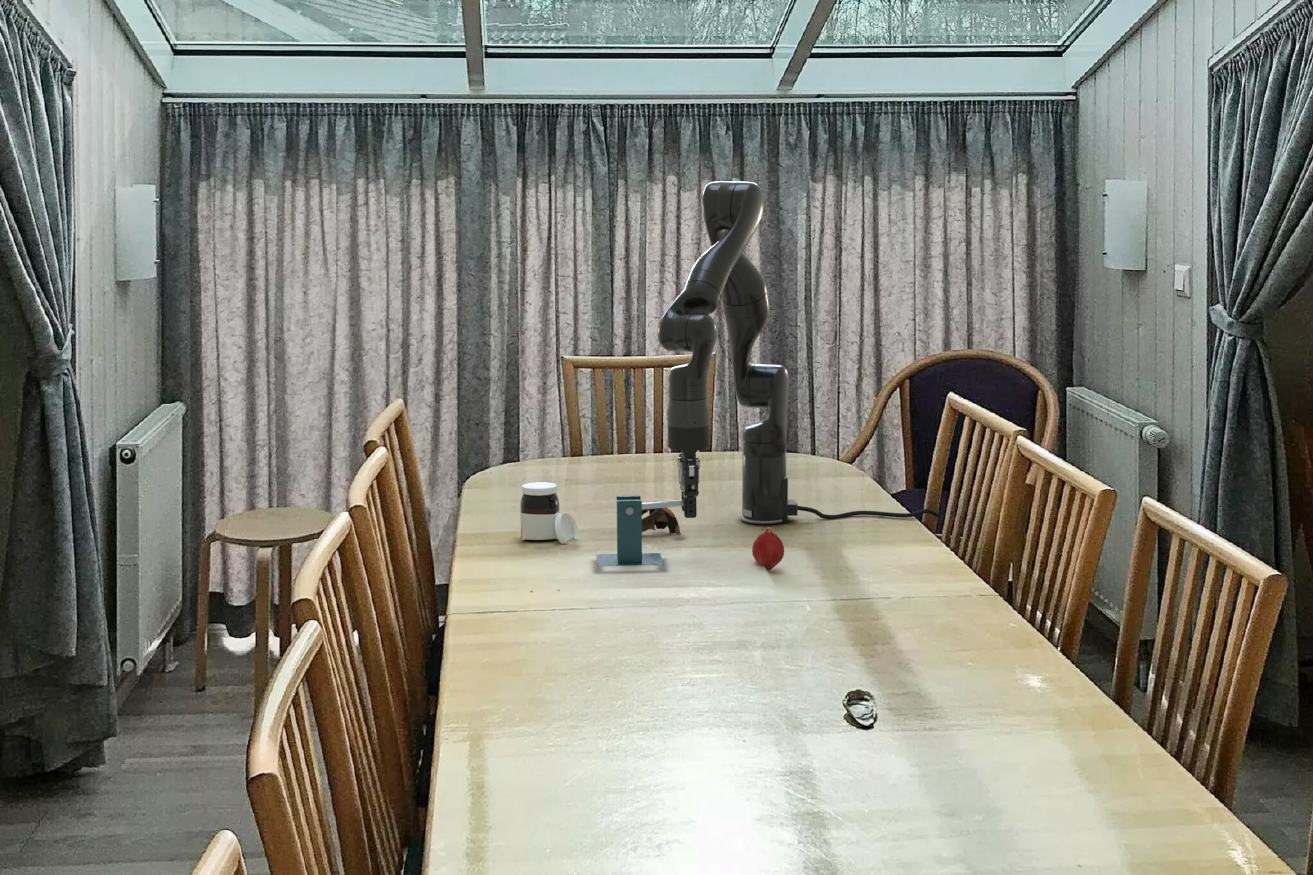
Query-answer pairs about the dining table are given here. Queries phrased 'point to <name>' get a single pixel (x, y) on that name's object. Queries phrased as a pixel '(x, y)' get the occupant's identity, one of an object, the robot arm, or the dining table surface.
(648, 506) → the lever
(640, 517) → the bracket
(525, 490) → the spread jar
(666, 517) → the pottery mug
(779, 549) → the onion
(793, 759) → the dining table surface
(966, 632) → the dining table surface
